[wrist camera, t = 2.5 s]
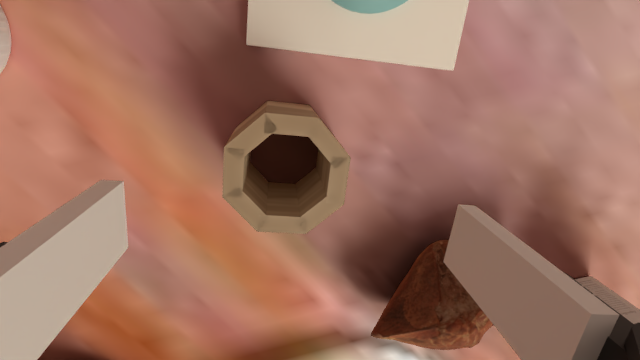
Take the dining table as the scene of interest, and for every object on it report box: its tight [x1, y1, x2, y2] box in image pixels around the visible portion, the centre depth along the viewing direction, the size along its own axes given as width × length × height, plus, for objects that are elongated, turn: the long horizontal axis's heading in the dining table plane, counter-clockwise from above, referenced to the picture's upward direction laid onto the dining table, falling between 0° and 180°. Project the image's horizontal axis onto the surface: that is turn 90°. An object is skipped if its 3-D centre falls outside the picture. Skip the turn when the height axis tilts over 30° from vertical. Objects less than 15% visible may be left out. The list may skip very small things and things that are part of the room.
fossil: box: [371, 240, 493, 350], centre depth 27 cm, size 13×8×10 cm
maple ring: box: [223, 101, 350, 234], centre depth 23 cm, size 7×7×6 cm
